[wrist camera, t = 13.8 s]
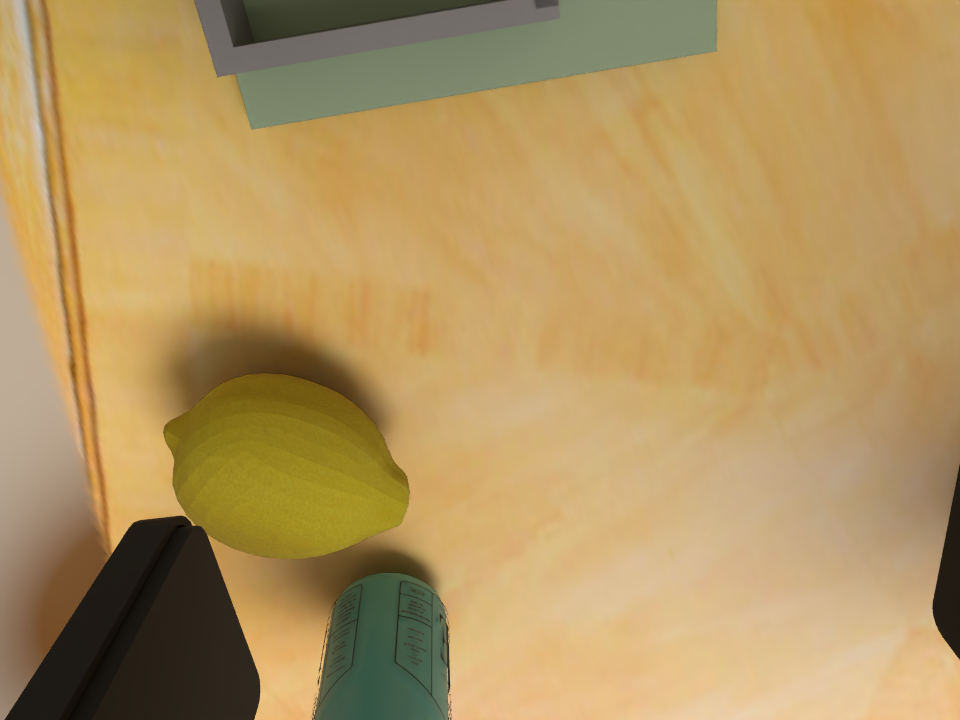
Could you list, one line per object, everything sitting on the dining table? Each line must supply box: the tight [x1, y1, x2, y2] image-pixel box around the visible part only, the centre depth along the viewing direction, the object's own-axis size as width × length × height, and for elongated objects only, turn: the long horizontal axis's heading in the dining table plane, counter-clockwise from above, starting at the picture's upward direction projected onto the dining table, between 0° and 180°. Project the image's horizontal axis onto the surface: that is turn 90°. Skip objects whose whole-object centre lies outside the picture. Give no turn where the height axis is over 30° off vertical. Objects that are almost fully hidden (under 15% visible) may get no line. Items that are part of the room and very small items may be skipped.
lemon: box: [163, 373, 410, 559], centre depth 32 cm, size 11×8×8 cm
